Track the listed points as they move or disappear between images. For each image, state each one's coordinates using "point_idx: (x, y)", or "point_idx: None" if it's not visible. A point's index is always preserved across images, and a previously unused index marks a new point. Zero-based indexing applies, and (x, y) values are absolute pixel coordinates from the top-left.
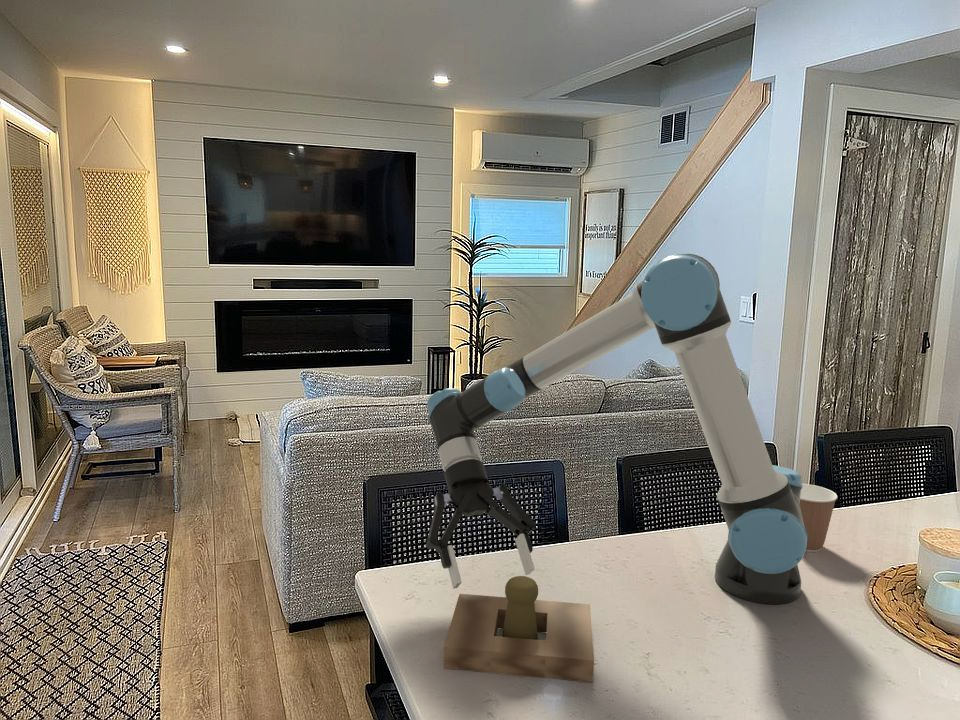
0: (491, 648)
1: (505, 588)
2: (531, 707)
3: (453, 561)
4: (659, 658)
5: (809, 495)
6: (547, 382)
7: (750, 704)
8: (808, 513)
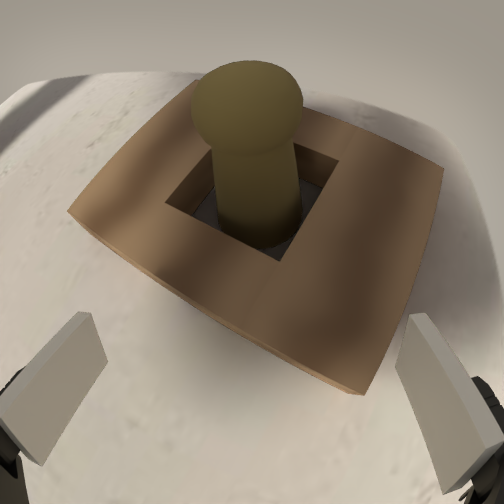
0: (354, 132)
1: (301, 105)
2: (312, 93)
3: (461, 375)
4: (89, 135)
5: None
6: None
7: (97, 79)
8: None
